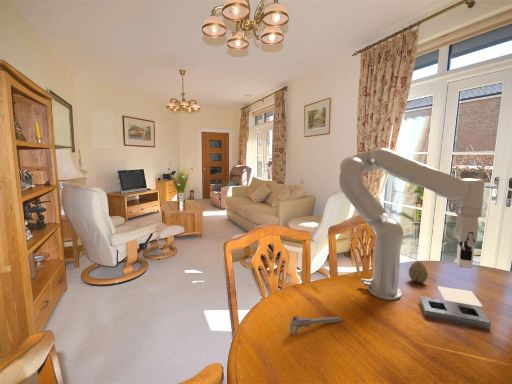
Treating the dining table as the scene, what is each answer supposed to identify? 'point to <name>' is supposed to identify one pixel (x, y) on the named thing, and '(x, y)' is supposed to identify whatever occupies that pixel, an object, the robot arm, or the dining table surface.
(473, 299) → the tile
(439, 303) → the block with square recesses
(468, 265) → the steel block
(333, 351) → the dining table surface
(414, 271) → the decorative egg
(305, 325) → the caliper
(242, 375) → the dining table surface
